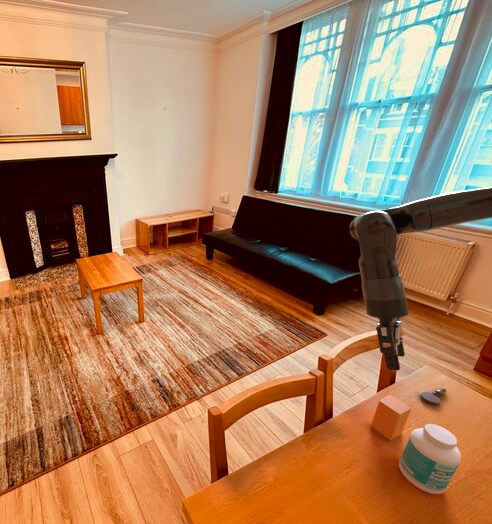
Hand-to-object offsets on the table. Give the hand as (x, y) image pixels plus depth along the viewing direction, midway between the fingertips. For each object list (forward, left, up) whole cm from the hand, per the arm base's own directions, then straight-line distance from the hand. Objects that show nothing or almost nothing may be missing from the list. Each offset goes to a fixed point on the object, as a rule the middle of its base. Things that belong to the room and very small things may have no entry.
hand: (396, 362), depth 64 cm
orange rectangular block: (-2, +1, -21) cm, 22 cm away
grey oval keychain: (-22, -12, -21) cm, 33 cm away
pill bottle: (-2, +12, -22) cm, 25 cm away
